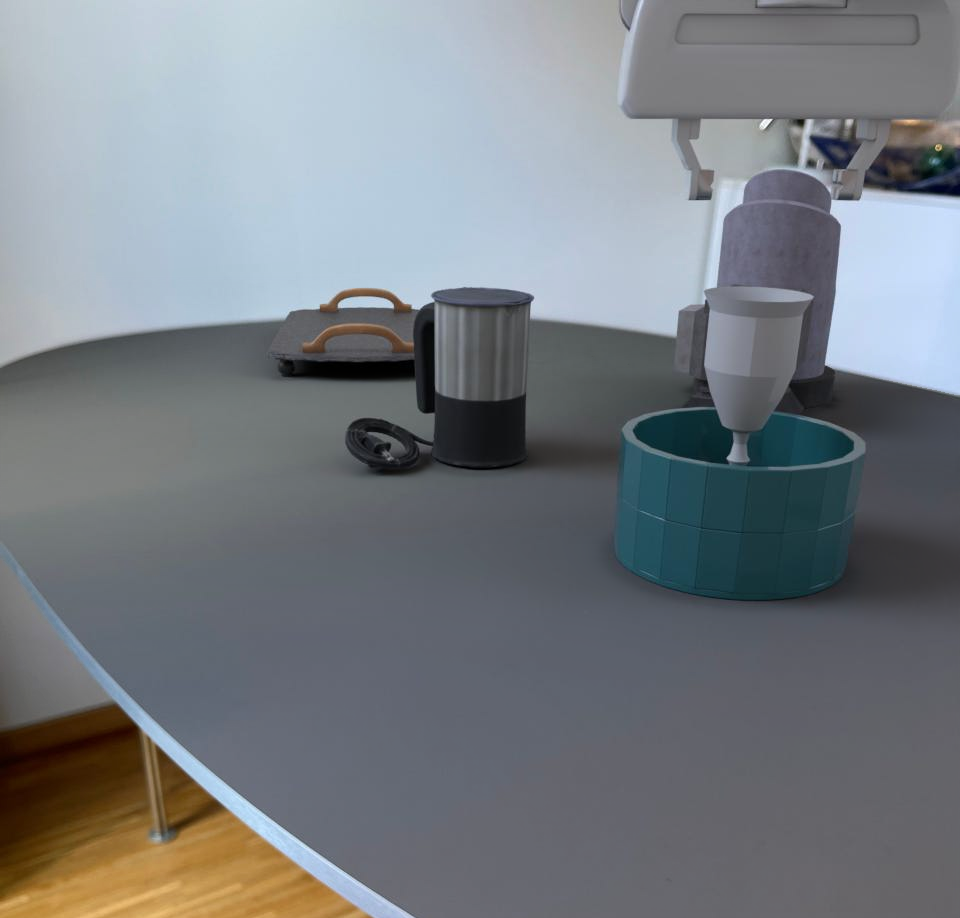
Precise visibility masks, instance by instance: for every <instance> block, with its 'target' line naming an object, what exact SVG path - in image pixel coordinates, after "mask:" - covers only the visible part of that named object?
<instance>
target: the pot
mask: <svg viewBox="0 0 960 918" xmlns="http://www.w3.org/2000/svg"><path fill="white" fill-rule="evenodd" d="M619 441H620V443H619V458H618V470H617V485H616V499H615V515H614V528H613V543H614V544H613V549H614V554H615V556H616V558H617V560H618V561H619V563H620V564H621V565H622V566H624V567H625V568H626V569H627V570H628V571H629V572H632V573H633V574H635V575H636V576H638V577H640V578H642V579H644V580H646V581H648V582H651V583H654V584H656V585H659V586H662V587H665V588H669V589H672V590H675V591H678V592H683V593H686V594H687V593H688V594H692V595H698V596H703V597H709V598H718V599H727V600H739V601H740V600H741V601H771V600H773V601H774V600H785V599H792V598H793V599H794V598H799V597H803V596H808V595H812V594H816V593H819V592H821V591H824V590H826V589H828V588H830V587H832V586H833V585H835V584H836V583H838V581H840V580H841V578H842V577H843V575H844V574H845V570H846V567H847V562H848V557H849V550H850V545H851V538H852V535H853V534H852V533H853V527H854V523H855V515H856V510H857V504H858V498H859V493H860V487H861V482H862V475H863V470H864V465H865V459H866V454H867V453H866V452H867V449H866V448H867V447H866V446H867V444H866V441H865V440H864V439H862V438H861V437H860V436H859V435H858V434H856V432H854V431H852V430H849V429H846V428H844V427H841V426H840V425H837V424H834V423H832V422H829V421H827V420H826V421H825V420H822V419H818V418H814V417H810V416H805V415H802V414H799V415H796V414H789V413H783V412H777V411H773V413H772V414H771V416H770V417H769V419H768V420H767V422H766V424H765V425H764V427H763V428H762V429H760V430H758V431H755V432H751V433H750V435H749V438H748V441H747V456H748V457H749V459H750V461H749V462H748V463H747V464H746V466H738V465H729V462H728V460H727V457H728V456H729V455H730V453H731V450H732V447H733V444H734V438H733V431H731V430H729V429H727V428H726V427H724V426H723V425H722V423H721V421H720V418H719V415H718V412H717V409H716V407H694V408H682V407H681V408H671V409H670V408H669V409H664V410H659V411H653V412H648V413H643V414H642V415H639V416H637V417H634V418H631V419H629V420H628V421H627V422H626V423H625V425H624V426H623V427H622V429H621V430H620V440H619Z"/></svg>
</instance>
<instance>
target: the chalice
mask: <svg viewBox="0 0 960 918" xmlns="http://www.w3.org/2000/svg"><path fill="white" fill-rule="evenodd" d="M703 294H704V296H705V299H707V302H708V304H709V307H710V312H709V322H708V332H707V342H706V351H705V361H704V366H705V371H706V375H707V380H708V385H709V389H710V393H711V396H712V398H713V401H714V404H715V407H716V409H717V412H718V415H719V418H720V421H721V423H722V425H723V426H724V427H726V428H727V429H729V430H731V431H733V438H734V444H733V447H732V450H731V453H730V455H729V456H728V457H727V460H728V462H729V465H738V466H746V464H747V463H748V462H749V461H750V459H749V457H748V456H747V441H748V438H749V435H750V433H751V432H755V431H758V430H760V429H762V428H763V427H764V425H765V424H766V422H767V420H768V419H769V417H770V416H771V414H772V413H773V411H774V410H775V408H776V407H777V405H778V403H779V402H780V400H781V399H782V397H783V395H784V393H785V391H786V389H787V387H788V385H789V383H790V381H791V379H792V376H793V374H794V372H795V369H796V362H797V355H798V348H799V341H800V334H801V326H802V319H803V313H804V311H805V310H806V308H807V307H808V305H809V304H810V302H811V300H812V299H813V297H814V296H812V295H810V294H807V293H803V292H799V291H793V290H786V289H777V288H765V287H742V286H740V287H717V286H715V287H711V288H706V289H704V290H703Z"/></svg>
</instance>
